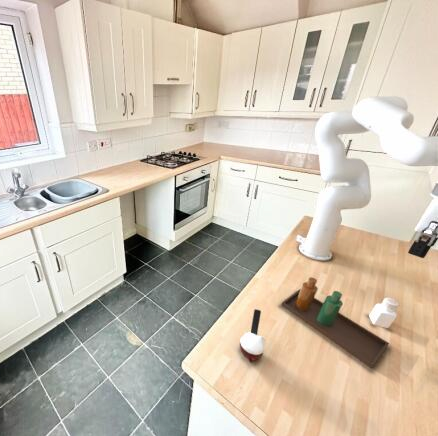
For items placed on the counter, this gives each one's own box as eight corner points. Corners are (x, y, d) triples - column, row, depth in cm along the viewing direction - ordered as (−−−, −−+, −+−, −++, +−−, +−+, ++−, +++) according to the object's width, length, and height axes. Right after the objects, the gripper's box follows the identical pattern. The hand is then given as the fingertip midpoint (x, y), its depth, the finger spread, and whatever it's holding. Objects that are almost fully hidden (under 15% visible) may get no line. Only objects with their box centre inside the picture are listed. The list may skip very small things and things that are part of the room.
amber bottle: (292, 304, 83) (302, 278, 77) (299, 299, 85) (309, 273, 79) (305, 313, 80) (316, 286, 74) (311, 307, 82) (323, 281, 76)
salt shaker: (372, 325, 76) (386, 304, 71) (367, 315, 79) (380, 294, 75) (388, 329, 75) (403, 308, 70) (382, 319, 78) (397, 298, 73)
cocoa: (254, 372, 64) (263, 343, 59) (232, 356, 68) (239, 328, 63) (267, 347, 70) (277, 319, 65) (247, 334, 74) (254, 306, 68)
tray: (280, 306, 83) (282, 302, 82) (298, 293, 88) (300, 288, 87) (370, 369, 64) (373, 365, 63) (386, 347, 70) (389, 343, 69)
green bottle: (313, 319, 78) (326, 292, 72) (320, 313, 80) (333, 286, 74) (328, 328, 75) (342, 301, 69) (334, 322, 77) (349, 295, 71)
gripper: (440, 182, 68) (411, 234, 76) (424, 196, 59) (393, 253, 67) (483, 190, 62) (447, 245, 70) (471, 206, 54) (431, 267, 61)
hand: (420, 249), depth 68 cm, fingers open, 9 cm apart
